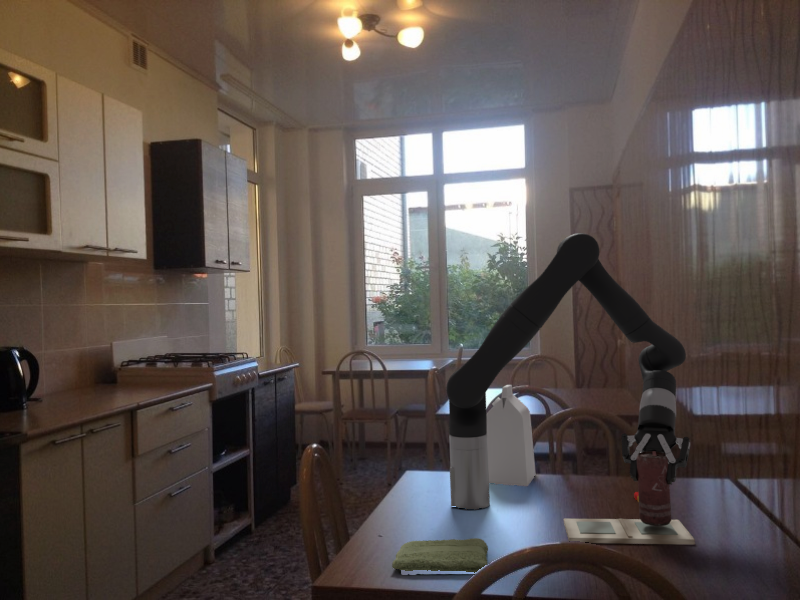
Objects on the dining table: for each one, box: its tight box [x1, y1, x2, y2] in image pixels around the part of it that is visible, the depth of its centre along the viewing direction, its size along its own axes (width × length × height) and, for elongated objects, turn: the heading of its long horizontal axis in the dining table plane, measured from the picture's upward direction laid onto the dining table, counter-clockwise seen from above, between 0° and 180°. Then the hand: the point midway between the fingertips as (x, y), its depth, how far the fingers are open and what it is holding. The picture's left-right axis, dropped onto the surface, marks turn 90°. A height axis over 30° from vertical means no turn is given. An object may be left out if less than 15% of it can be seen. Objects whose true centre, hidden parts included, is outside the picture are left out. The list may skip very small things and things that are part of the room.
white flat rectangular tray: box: [563, 518, 696, 545], centre depth 135 cm, size 24×12×1 cm, turn 81°
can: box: [637, 451, 672, 526], centre depth 135 cm, size 6×6×14 cm
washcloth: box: [391, 537, 489, 573], centre depth 124 cm, size 13×18×3 cm
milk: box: [486, 384, 537, 487], centre depth 182 cm, size 12×12×26 cm
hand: (652, 480), depth 133 cm, fingers closed on can, 6 cm apart
